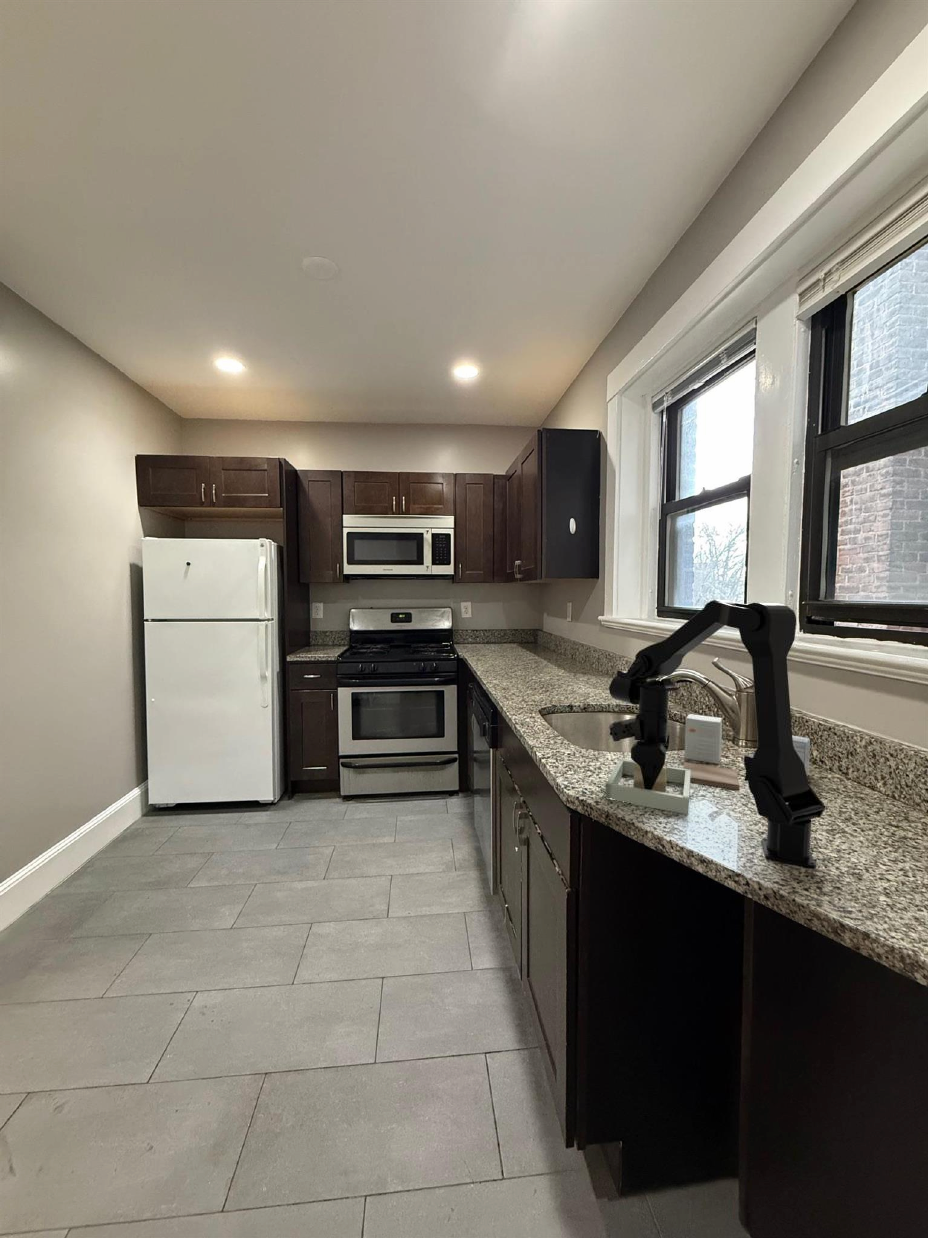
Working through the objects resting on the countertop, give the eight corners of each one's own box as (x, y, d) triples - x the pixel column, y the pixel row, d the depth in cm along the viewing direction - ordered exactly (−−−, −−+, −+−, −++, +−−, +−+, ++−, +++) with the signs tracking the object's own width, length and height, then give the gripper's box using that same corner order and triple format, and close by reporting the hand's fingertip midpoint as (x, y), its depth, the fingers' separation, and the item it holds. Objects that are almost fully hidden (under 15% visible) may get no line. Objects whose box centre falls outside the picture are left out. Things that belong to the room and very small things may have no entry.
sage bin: (688, 814, 94) (688, 798, 93) (605, 799, 100) (606, 784, 100) (690, 783, 110) (690, 769, 110) (618, 771, 116) (619, 759, 116)
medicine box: (809, 775, 117) (811, 738, 117) (805, 780, 114) (807, 742, 114) (770, 766, 123) (772, 731, 122) (765, 771, 119) (767, 735, 119)
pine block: (664, 797, 102) (665, 768, 101) (633, 792, 104) (634, 763, 104) (665, 790, 106) (667, 762, 105) (636, 785, 108) (637, 757, 108)
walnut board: (739, 789, 107) (739, 785, 107) (682, 780, 111) (683, 776, 111) (736, 774, 117) (736, 769, 117) (684, 766, 121) (684, 762, 121)
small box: (721, 758, 128) (723, 717, 127) (718, 764, 123) (720, 722, 123) (687, 753, 132) (688, 713, 132) (683, 758, 127) (685, 717, 127)
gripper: (619, 697, 116) (617, 764, 117) (605, 713, 99) (602, 791, 100) (671, 703, 111) (668, 772, 112) (666, 720, 94) (662, 802, 95)
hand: (650, 783), depth 105 cm, fingers open, 9 cm apart
